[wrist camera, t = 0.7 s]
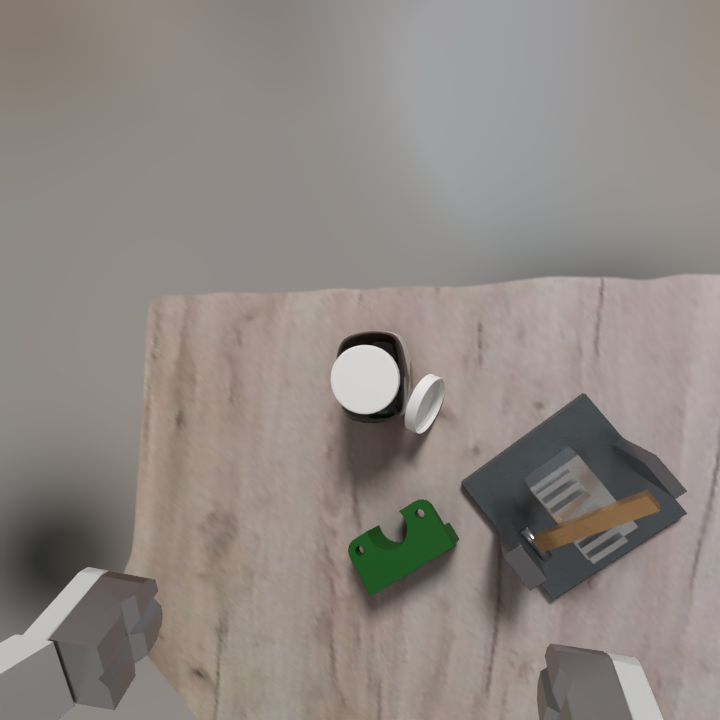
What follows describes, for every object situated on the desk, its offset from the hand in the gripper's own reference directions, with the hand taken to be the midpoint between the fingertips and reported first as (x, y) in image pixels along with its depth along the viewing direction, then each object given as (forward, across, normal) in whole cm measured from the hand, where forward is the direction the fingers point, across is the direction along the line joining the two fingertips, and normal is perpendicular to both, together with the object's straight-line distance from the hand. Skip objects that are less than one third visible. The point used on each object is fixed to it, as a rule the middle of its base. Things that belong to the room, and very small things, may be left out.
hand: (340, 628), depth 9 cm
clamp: (+38, +1, -33) cm, 50 cm away
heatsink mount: (+39, +19, -25) cm, 50 cm away
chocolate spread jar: (+44, -2, -15) cm, 47 cm away
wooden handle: (+31, +18, -22) cm, 42 cm away
